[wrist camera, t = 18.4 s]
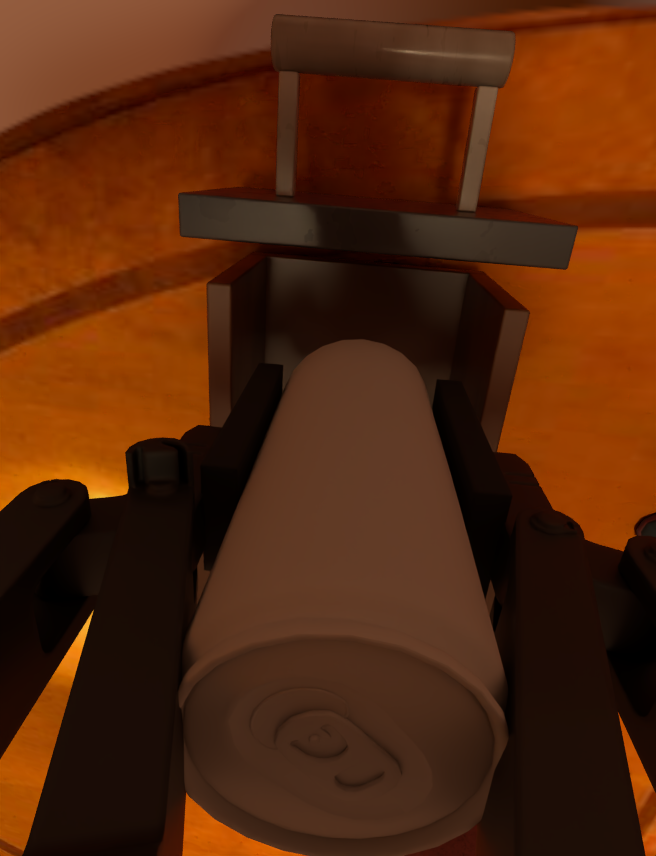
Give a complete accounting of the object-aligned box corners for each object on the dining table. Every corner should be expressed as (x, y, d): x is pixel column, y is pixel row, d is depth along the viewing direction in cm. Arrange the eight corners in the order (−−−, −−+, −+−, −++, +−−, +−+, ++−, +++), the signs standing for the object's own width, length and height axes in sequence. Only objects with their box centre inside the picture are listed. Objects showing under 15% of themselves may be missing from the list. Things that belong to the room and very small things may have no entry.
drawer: (237, 44, 20) (167, -24, 13) (541, 67, 20) (635, 9, 13) (237, 467, 28) (193, 564, 21) (454, 488, 28) (483, 594, 21)
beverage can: (367, 301, 16) (361, 553, 5) (459, 414, 18) (600, 794, 7) (254, 394, 18) (77, 732, 7) (347, 491, 19) (317, 899, 8)
